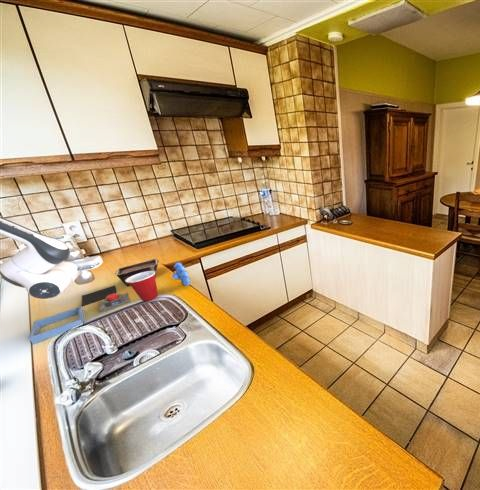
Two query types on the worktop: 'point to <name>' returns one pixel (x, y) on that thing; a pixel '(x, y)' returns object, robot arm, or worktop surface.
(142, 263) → the baking dish
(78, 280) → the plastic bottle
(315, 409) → the worktop surface
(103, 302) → the control block
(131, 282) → the plastic cup
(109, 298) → the button
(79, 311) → the dish rack
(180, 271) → the grapes
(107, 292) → the drying mat
